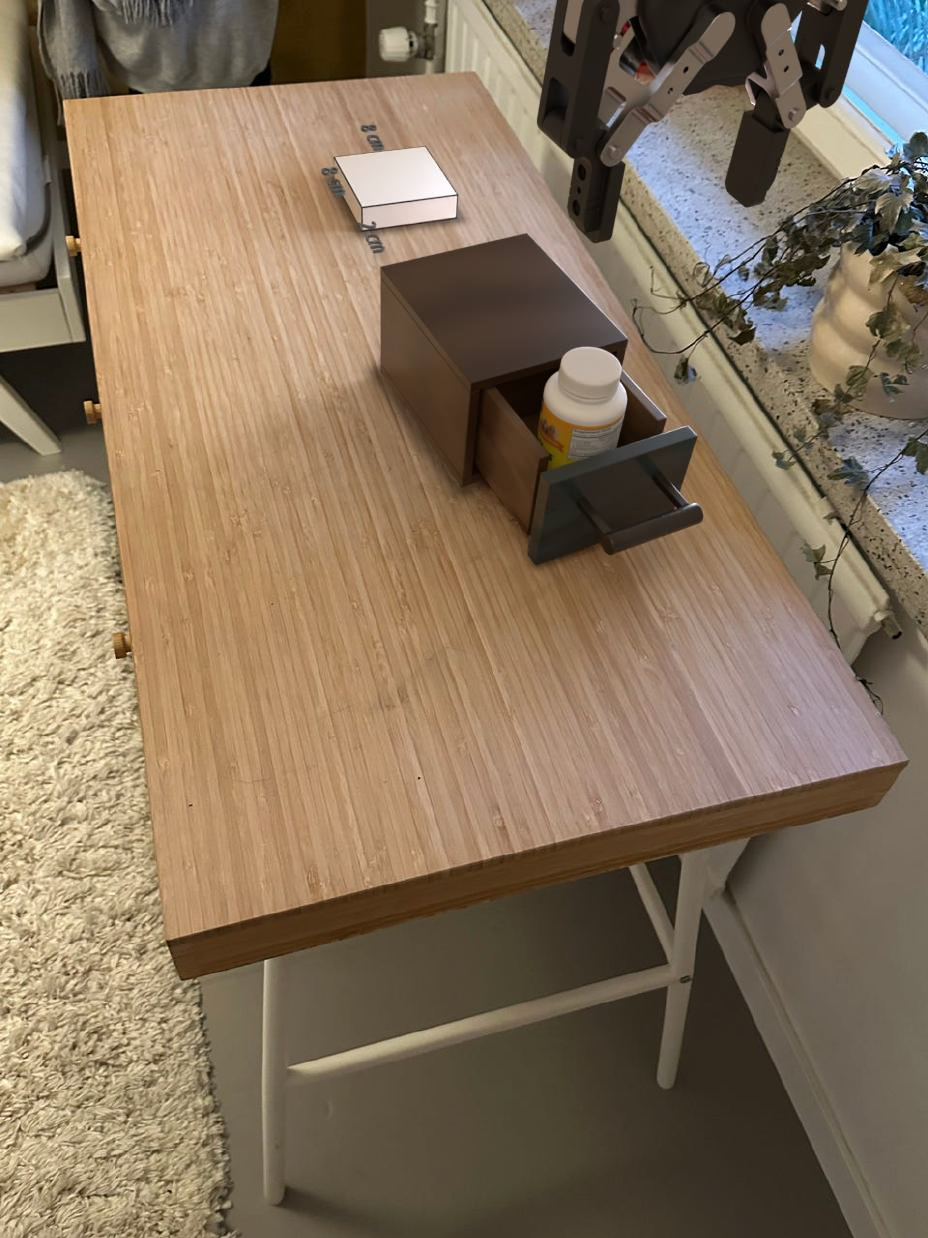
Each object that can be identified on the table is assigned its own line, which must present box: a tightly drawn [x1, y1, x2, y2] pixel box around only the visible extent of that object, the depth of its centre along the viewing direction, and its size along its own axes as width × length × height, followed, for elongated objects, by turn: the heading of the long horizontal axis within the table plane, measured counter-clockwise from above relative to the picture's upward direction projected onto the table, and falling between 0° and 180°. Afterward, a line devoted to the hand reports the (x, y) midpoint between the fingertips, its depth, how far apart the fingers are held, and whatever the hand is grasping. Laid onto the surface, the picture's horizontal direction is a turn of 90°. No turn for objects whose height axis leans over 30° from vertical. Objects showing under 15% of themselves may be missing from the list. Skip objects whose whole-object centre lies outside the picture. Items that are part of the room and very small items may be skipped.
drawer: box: [473, 367, 704, 567], centre depth 71 cm, size 18×11×8 cm, turn 27°
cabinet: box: [379, 232, 629, 488], centre depth 77 cm, size 15×13×10 cm
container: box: [321, 124, 459, 255], centre depth 98 cm, size 20×12×3 cm, turn 20°
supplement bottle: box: [537, 347, 627, 471], centre depth 69 cm, size 6×6×10 cm
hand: (669, 215), depth 47 cm, fingers open, 8 cm apart
